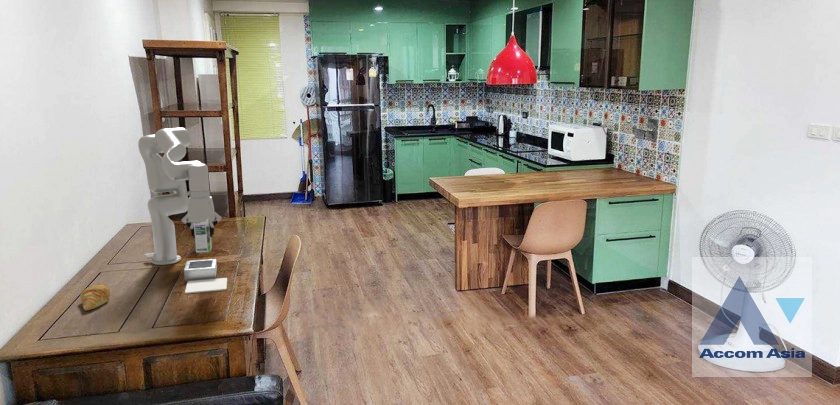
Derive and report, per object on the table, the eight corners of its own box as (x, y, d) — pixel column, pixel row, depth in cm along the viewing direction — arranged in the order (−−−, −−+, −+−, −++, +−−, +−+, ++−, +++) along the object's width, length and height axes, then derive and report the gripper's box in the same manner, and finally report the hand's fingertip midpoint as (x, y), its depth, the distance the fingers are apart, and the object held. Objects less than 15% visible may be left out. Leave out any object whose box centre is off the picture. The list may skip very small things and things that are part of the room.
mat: (184, 293, 227) (184, 292, 227) (187, 282, 239) (187, 281, 239) (226, 290, 232) (226, 288, 231) (227, 279, 244) (227, 277, 243)
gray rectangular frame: (185, 281, 240) (184, 270, 239) (188, 266, 258) (188, 256, 257) (215, 278, 244) (215, 267, 243) (217, 264, 261) (216, 254, 260)
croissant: (96, 320, 209) (105, 302, 209) (68, 311, 206) (76, 292, 205) (112, 297, 229) (120, 281, 229) (87, 288, 226) (95, 271, 225)
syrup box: (195, 253, 229) (193, 218, 225) (197, 248, 234) (195, 215, 231) (210, 252, 230) (208, 218, 227) (212, 247, 235) (209, 214, 232)
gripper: (175, 197, 221) (179, 240, 225) (222, 195, 226) (224, 237, 230) (177, 193, 228) (181, 235, 232) (222, 191, 233) (225, 232, 237)
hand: (203, 236), depth 231 cm, fingers closed on syrup box, 5 cm apart
